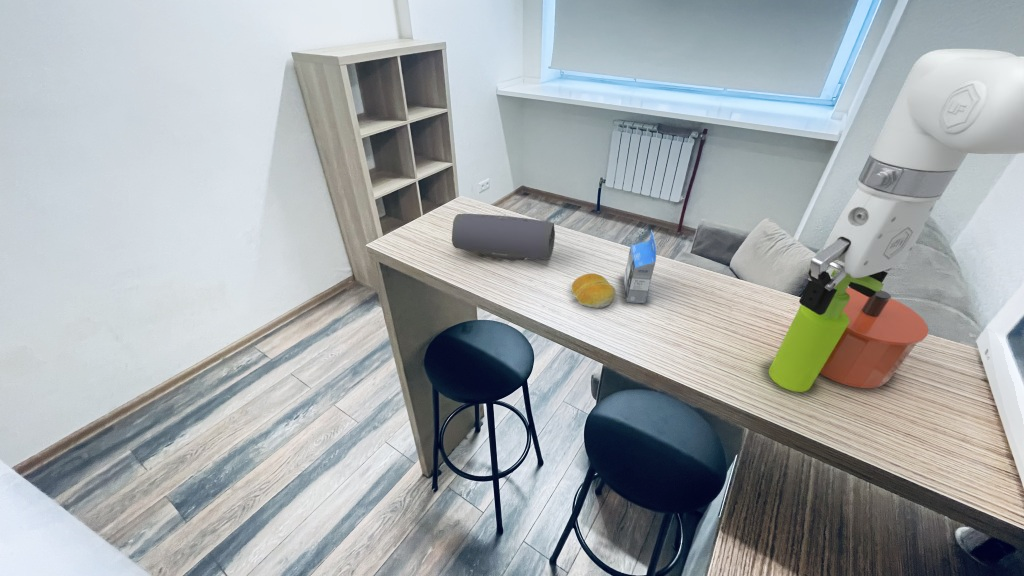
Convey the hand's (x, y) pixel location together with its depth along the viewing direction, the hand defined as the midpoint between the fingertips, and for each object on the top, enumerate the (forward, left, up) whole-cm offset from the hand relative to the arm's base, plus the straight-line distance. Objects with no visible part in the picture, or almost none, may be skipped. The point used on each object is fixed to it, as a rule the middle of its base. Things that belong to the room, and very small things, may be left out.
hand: (835, 299), depth 55 cm
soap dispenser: (0, 0, -16) cm, 16 cm away
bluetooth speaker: (+55, +28, -16) cm, 63 cm away
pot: (0, -12, -16) cm, 20 cm away
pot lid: (0, -12, -6) cm, 13 cm away
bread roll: (+32, +17, -16) cm, 40 cm away
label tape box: (+30, +8, -16) cm, 35 cm away
